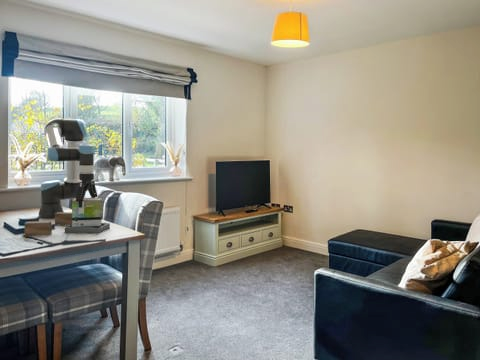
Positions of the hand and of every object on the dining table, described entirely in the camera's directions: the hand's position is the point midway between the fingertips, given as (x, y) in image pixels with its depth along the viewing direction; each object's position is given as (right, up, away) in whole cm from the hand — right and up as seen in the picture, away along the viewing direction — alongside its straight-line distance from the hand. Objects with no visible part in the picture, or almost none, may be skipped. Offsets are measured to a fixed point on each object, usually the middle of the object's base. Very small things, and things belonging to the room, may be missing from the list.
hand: (87, 211), depth 215 cm
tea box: (0, -8, 0) cm, 8 cm away
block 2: (-19, -9, +16) cm, 26 cm away
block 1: (-21, -12, -12) cm, 27 cm away
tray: (0, -11, +1) cm, 11 cm away
